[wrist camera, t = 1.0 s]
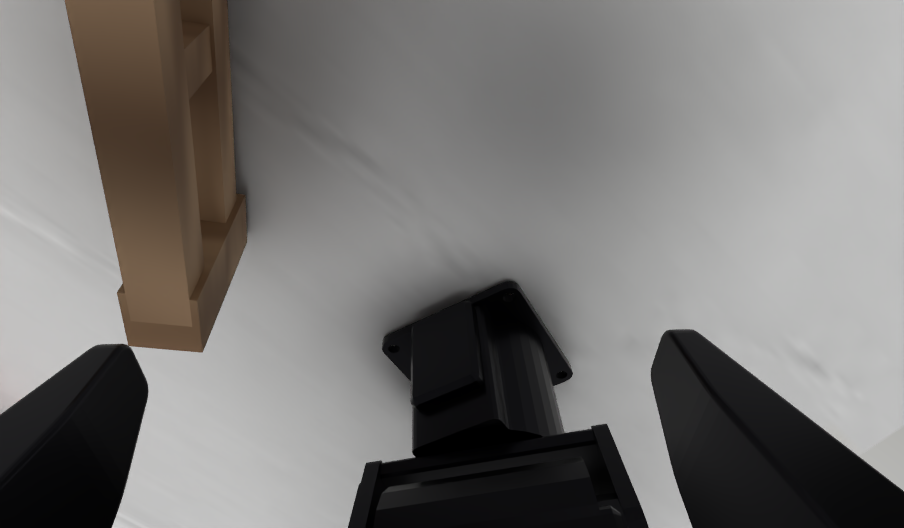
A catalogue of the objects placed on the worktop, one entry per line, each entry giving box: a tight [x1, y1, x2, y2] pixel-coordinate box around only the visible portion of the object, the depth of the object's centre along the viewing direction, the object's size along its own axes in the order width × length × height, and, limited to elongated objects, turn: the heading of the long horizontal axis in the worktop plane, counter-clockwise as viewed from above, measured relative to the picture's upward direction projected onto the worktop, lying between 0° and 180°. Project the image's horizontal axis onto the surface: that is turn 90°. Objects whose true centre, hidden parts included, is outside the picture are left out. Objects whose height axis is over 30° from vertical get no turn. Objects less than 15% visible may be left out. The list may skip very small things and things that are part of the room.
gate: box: [65, 0, 247, 352], centre depth 14 cm, size 15×2×6 cm, turn 169°
